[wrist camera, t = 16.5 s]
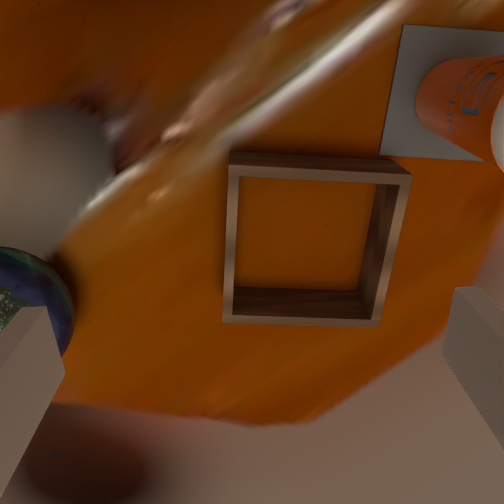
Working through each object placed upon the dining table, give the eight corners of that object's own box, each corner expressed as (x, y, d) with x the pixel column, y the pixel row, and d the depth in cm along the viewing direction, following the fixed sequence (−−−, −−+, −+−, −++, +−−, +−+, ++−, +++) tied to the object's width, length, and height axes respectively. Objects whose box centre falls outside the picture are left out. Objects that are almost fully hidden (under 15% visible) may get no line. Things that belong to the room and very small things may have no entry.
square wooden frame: (229, 150, 44) (228, 164, 38) (391, 160, 45) (413, 174, 39) (223, 293, 51) (222, 322, 45) (363, 299, 52) (378, 327, 46)
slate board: (402, 24, 39) (403, 24, 39) (527, 34, 40) (529, 33, 40) (378, 154, 44) (379, 155, 44) (489, 160, 45) (490, 161, 45)
